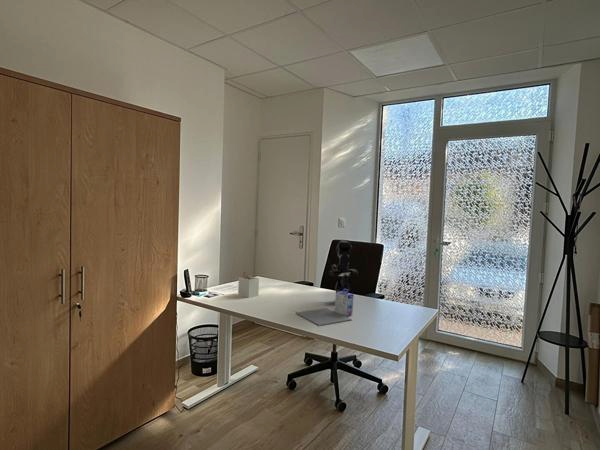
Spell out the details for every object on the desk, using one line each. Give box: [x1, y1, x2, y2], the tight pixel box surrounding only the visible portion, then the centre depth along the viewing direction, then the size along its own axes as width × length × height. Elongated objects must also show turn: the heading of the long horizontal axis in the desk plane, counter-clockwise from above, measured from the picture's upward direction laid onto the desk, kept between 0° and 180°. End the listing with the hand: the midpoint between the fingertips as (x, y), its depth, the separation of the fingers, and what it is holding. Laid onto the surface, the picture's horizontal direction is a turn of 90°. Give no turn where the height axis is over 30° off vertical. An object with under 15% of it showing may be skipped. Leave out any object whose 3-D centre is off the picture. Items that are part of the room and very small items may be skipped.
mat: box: [295, 307, 353, 327], centre depth 201 cm, size 22×24×1 cm
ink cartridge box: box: [334, 288, 354, 317], centre depth 209 cm, size 10×6×14 cm, turn 42°
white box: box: [237, 270, 260, 299], centre depth 243 cm, size 9×11×17 cm
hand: (342, 286), depth 223 cm, fingers closed
